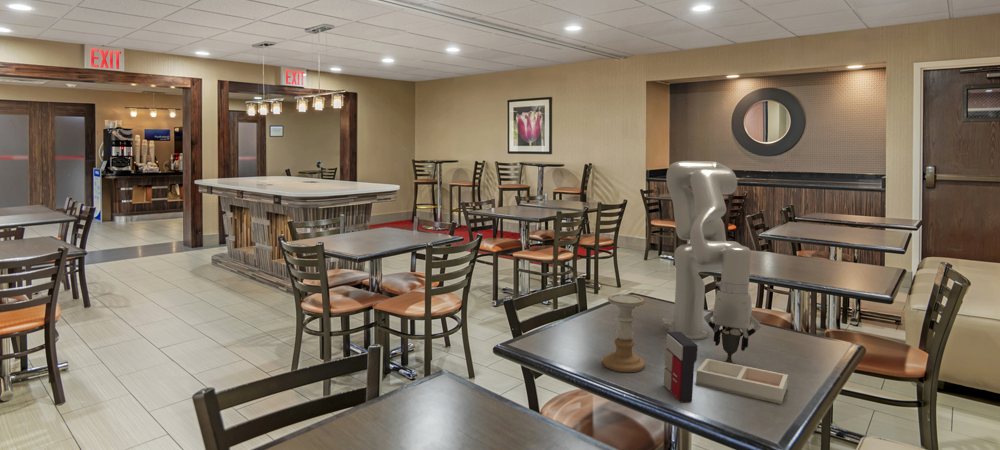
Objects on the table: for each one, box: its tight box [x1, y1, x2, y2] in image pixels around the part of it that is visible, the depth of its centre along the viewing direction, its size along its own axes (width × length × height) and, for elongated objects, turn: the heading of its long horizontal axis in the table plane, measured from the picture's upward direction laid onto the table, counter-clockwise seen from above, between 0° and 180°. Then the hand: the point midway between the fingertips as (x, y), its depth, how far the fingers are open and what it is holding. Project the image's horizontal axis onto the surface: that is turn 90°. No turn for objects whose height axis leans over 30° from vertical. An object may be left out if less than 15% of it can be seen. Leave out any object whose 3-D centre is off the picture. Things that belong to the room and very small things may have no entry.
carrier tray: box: [695, 358, 789, 405], centre depth 153 cm, size 21×11×4 cm, turn 57°
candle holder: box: [601, 293, 646, 373], centre depth 166 cm, size 12×12×20 cm
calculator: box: [663, 331, 699, 403], centre depth 147 cm, size 11×4×15 cm, turn 5°
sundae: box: [719, 326, 743, 364], centre depth 167 cm, size 7×7×15 cm
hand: (730, 346), depth 168 cm, fingers closed on sundae, 6 cm apart
